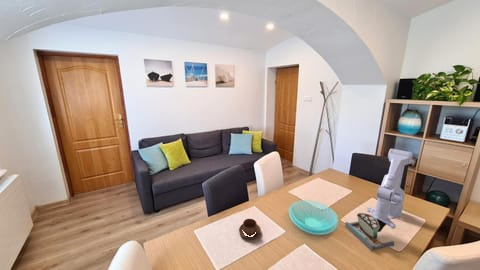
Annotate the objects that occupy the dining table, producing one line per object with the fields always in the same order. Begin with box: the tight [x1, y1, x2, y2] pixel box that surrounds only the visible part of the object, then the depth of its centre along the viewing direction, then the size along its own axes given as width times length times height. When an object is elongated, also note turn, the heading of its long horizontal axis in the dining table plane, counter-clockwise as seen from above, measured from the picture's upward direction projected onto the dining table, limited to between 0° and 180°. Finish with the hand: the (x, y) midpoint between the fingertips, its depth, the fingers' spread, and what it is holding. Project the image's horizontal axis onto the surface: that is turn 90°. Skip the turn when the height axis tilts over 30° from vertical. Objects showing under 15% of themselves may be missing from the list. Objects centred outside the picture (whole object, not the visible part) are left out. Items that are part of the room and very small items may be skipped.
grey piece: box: [344, 220, 395, 252], centre depth 101 cm, size 14×17×4 cm
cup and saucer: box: [238, 218, 262, 240], centre depth 103 cm, size 12×12×6 cm
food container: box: [356, 212, 380, 243], centre depth 100 cm, size 12×6×10 cm, turn 6°
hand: (377, 230), depth 102 cm, fingers closed
